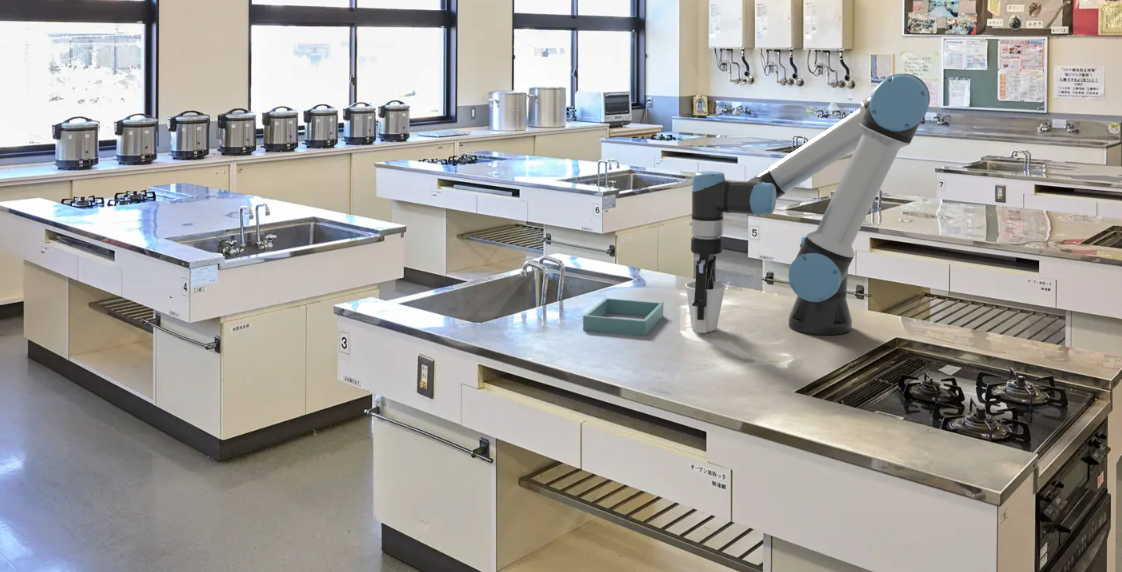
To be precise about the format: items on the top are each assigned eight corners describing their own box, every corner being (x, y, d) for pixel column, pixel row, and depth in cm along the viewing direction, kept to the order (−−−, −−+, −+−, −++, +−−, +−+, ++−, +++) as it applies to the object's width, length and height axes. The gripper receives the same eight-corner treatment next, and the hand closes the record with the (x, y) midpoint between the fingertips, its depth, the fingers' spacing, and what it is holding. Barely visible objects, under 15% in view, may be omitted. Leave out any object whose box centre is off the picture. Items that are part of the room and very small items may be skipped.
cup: (723, 335, 238) (725, 290, 236) (682, 333, 240) (683, 288, 237) (725, 324, 247) (726, 281, 245) (685, 322, 249) (686, 280, 247)
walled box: (663, 316, 257) (663, 302, 256) (645, 335, 239) (645, 321, 238) (605, 311, 261) (605, 298, 261) (583, 329, 243) (583, 315, 243)
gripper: (699, 228, 250) (697, 316, 255) (682, 242, 230) (680, 337, 235) (729, 230, 247) (726, 318, 252) (714, 244, 228) (711, 340, 233)
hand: (704, 327), depth 244 cm, fingers closed on cup, 8 cm apart
